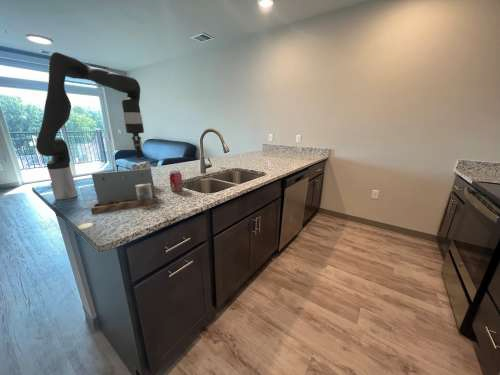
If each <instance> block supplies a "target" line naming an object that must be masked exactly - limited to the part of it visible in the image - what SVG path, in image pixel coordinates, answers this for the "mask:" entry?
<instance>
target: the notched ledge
mask: <svg viewBox="0 0 500 375" xmlns="http://www.w3.org/2000/svg"><path fill="white" fill-rule="evenodd" d="M152 197H153V199H146V200H139V201H138V198H137V197H136V198H129V199H122V200H114V201H107V202H100V203H98V202H94V203H93V204H92V206H91V207H90V210H91V211H90V212H91V214H97V213H98V214H99V213H103V212H110V211H115V210H122V209H123V210H124V209H128V208H130V209H131V208H136V207H143V206H149V205H154V204H155V203H156V204H158V203H157V197H156V194H154V195H152ZM156 204H155V205H156Z"/></svg>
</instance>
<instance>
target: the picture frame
mask: <svg viewBox="0 0 500 375" xmlns="http://www.w3.org/2000/svg"><path fill="white" fill-rule="evenodd" d="M135 187H136V192H137V198H138V201H139V200H146V199H153V197H152V190H151V184H150V183H149V184H140V185H136V186H135Z"/></svg>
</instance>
